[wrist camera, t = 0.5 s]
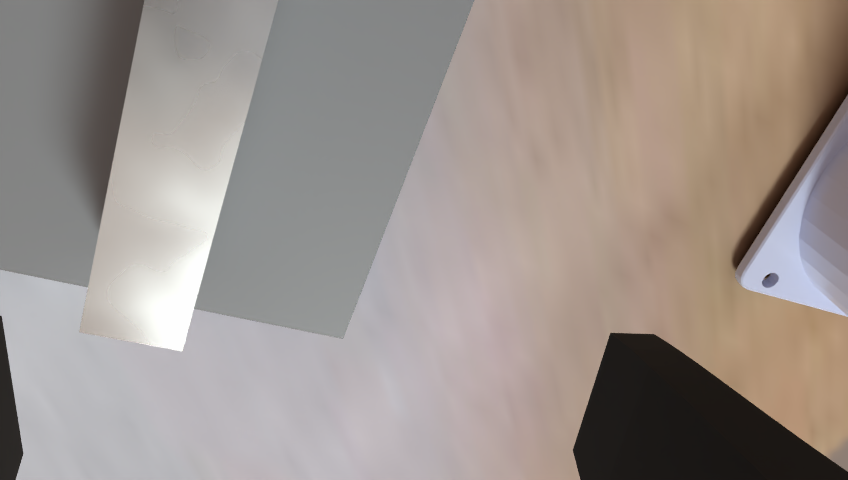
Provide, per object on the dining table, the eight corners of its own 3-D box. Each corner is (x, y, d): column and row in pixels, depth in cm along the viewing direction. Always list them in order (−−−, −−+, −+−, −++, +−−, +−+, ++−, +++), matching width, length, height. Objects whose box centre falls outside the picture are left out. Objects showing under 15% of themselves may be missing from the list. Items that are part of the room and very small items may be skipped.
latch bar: (194, -330, 12) (162, -381, 9) (370, -248, 13) (396, -269, 10) (82, 261, 17) (37, 359, 14) (216, 290, 18) (201, 387, 14)
